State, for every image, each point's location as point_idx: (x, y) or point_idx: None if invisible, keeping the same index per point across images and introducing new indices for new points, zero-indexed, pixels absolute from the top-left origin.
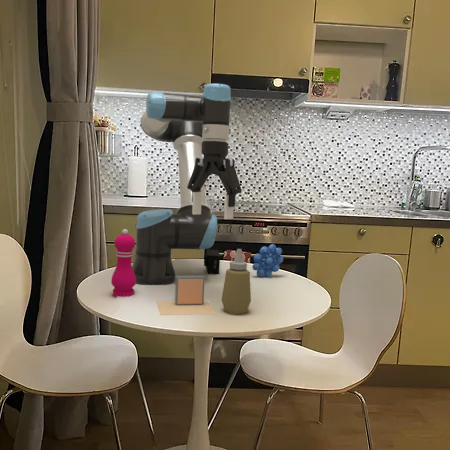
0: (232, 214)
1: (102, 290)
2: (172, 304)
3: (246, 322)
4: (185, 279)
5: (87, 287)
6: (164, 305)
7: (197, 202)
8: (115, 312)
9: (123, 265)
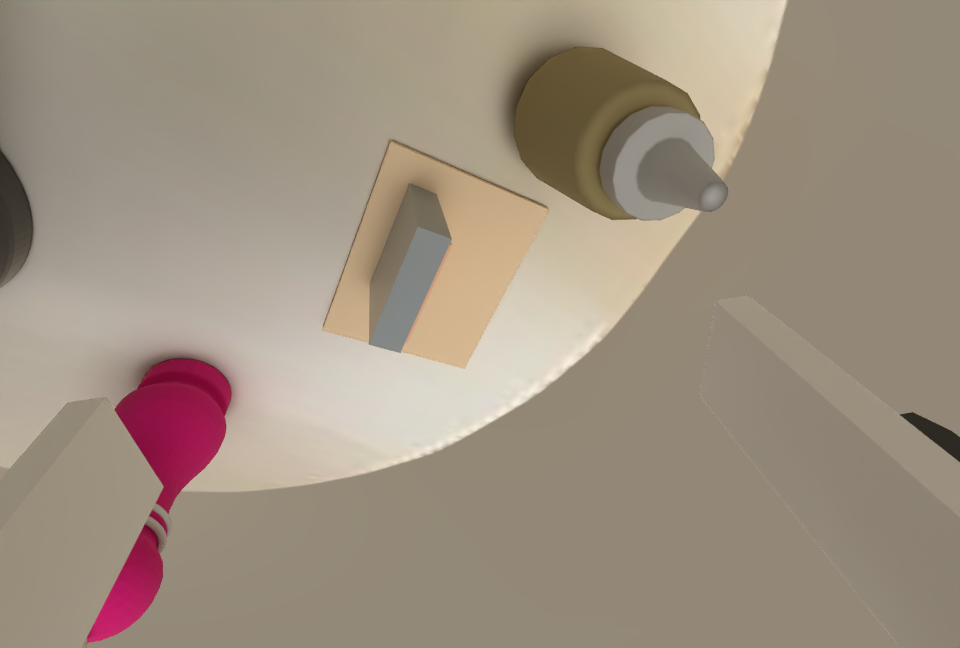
0: (780, 336)
1: None
2: None
3: None
4: (418, 316)
5: None
6: None
7: (43, 612)
8: (369, 447)
9: (177, 494)
